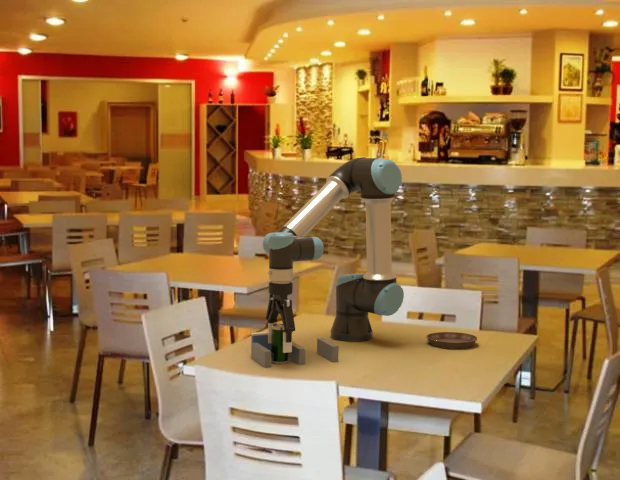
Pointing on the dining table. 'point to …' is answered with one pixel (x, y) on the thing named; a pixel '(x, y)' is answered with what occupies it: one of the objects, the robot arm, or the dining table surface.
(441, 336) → the plant saucer
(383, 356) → the dining table surface
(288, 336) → the robot arm
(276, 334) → the beer can
